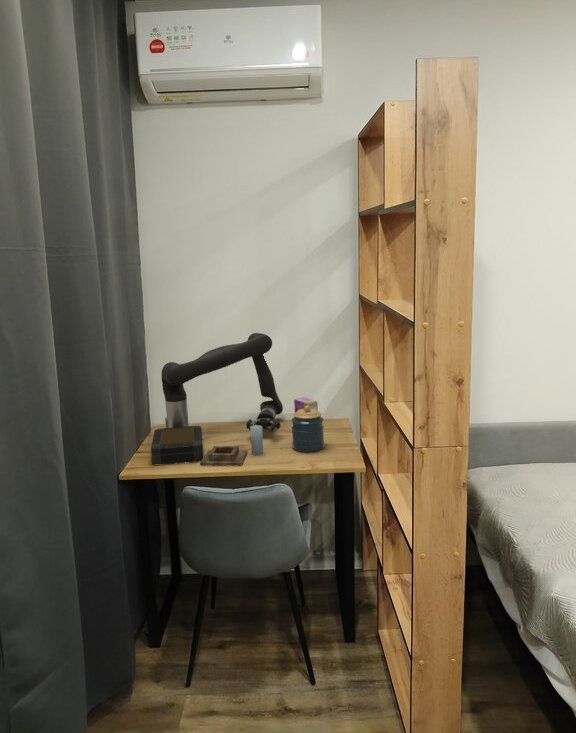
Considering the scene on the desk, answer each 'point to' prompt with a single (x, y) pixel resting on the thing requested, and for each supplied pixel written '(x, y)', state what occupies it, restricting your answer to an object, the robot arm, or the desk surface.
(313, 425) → the canister
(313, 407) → the box
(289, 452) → the desk surface
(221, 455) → the holder
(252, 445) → the cylinder
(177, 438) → the cash box
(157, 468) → the desk surface
